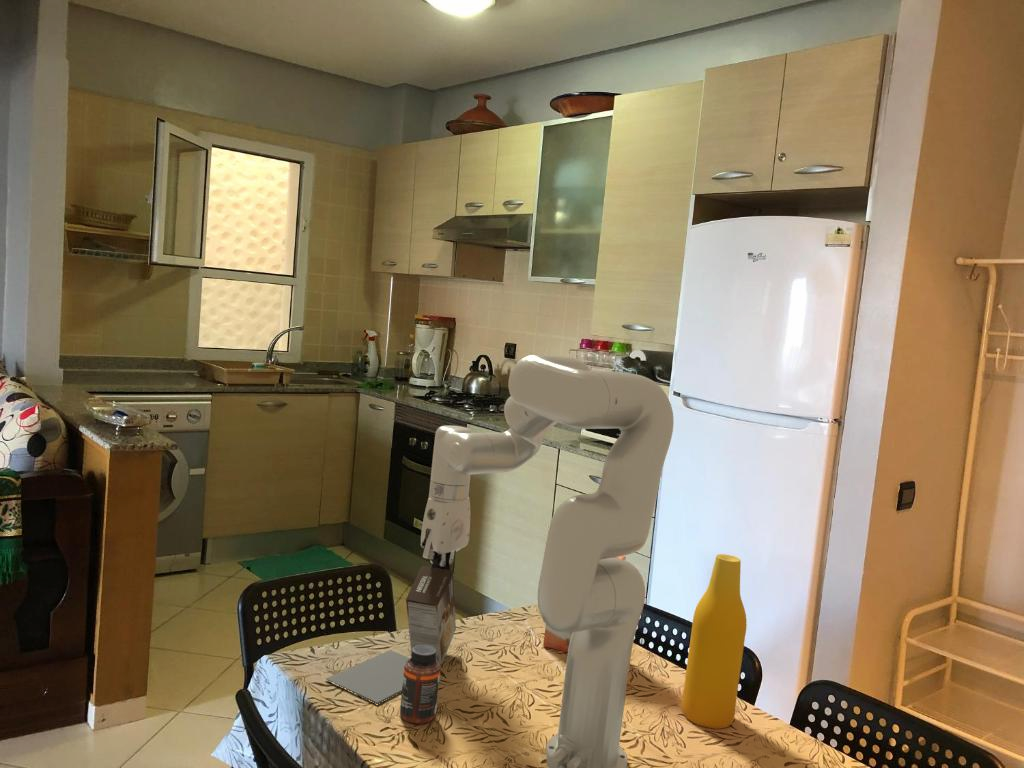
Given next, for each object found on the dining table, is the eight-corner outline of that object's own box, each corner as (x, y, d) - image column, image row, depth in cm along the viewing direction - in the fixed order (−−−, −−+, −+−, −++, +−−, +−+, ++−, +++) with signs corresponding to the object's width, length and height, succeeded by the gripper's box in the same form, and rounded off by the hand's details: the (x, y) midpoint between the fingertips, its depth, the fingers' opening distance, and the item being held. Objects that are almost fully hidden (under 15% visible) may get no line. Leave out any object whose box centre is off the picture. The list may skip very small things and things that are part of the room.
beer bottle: (744, 727, 138) (767, 566, 136) (700, 732, 134) (722, 566, 132) (712, 701, 146) (733, 549, 144) (670, 705, 143) (691, 549, 141)
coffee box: (426, 623, 158) (421, 563, 149) (456, 629, 156) (454, 569, 148) (410, 659, 150) (405, 598, 142) (442, 665, 149) (438, 605, 141)
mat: (377, 705, 131) (377, 702, 131) (325, 681, 138) (325, 678, 137) (439, 672, 146) (439, 670, 146) (390, 652, 152) (390, 649, 152)
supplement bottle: (442, 715, 130) (450, 649, 129) (421, 729, 125) (428, 661, 124) (414, 703, 133) (420, 638, 132) (391, 716, 128) (398, 649, 127)
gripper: (440, 500, 142) (430, 598, 144) (487, 490, 155) (477, 580, 157) (408, 491, 146) (399, 587, 148) (456, 482, 159) (447, 570, 161)
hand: (439, 583), depth 152 cm, fingers closed
